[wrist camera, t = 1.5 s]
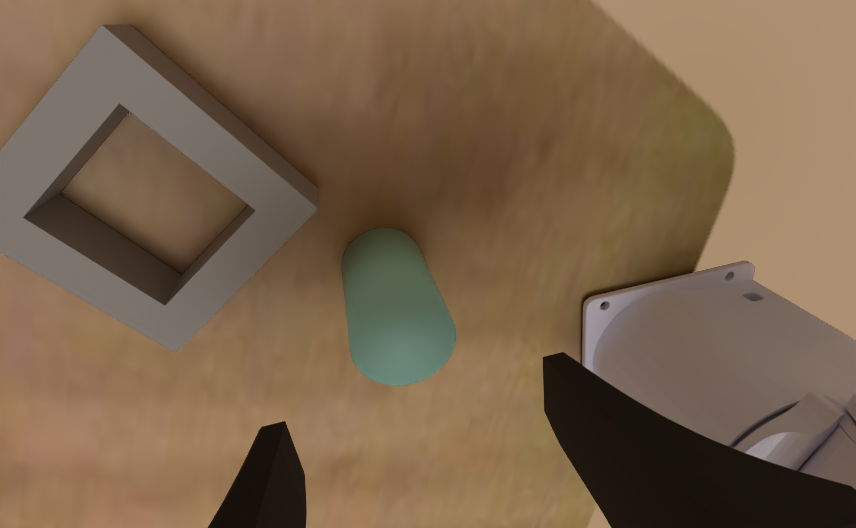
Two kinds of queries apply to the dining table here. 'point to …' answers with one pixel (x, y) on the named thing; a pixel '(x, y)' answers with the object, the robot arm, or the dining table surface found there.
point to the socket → (104, 247)
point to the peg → (394, 309)
